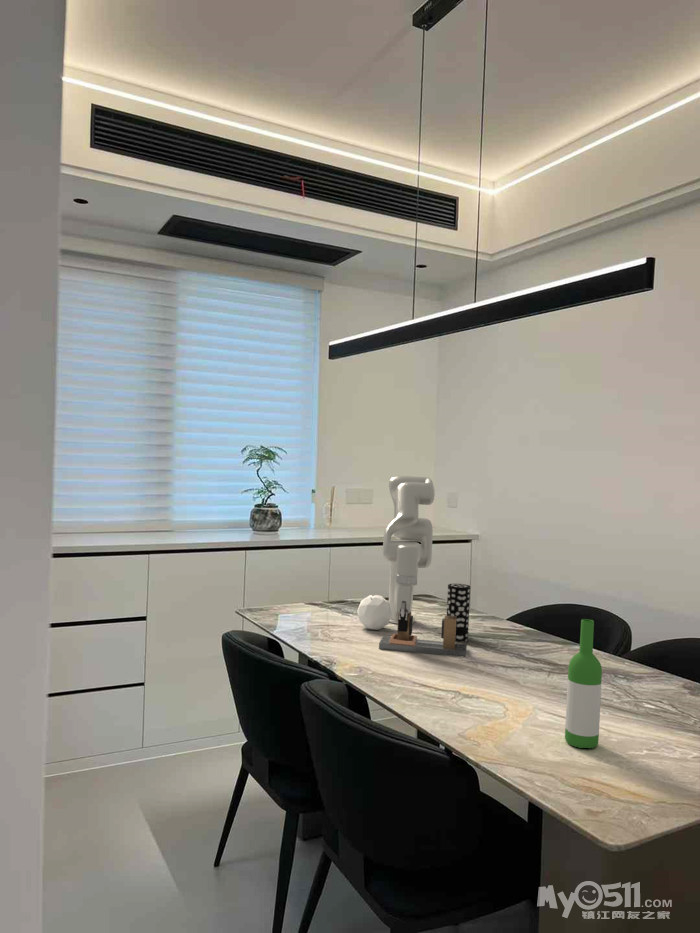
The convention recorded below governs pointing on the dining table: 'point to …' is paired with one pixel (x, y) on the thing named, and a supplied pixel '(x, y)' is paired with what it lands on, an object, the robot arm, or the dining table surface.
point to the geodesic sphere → (374, 612)
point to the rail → (429, 642)
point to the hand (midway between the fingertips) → (404, 627)
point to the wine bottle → (584, 693)
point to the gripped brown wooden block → (406, 635)
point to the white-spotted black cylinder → (459, 608)
